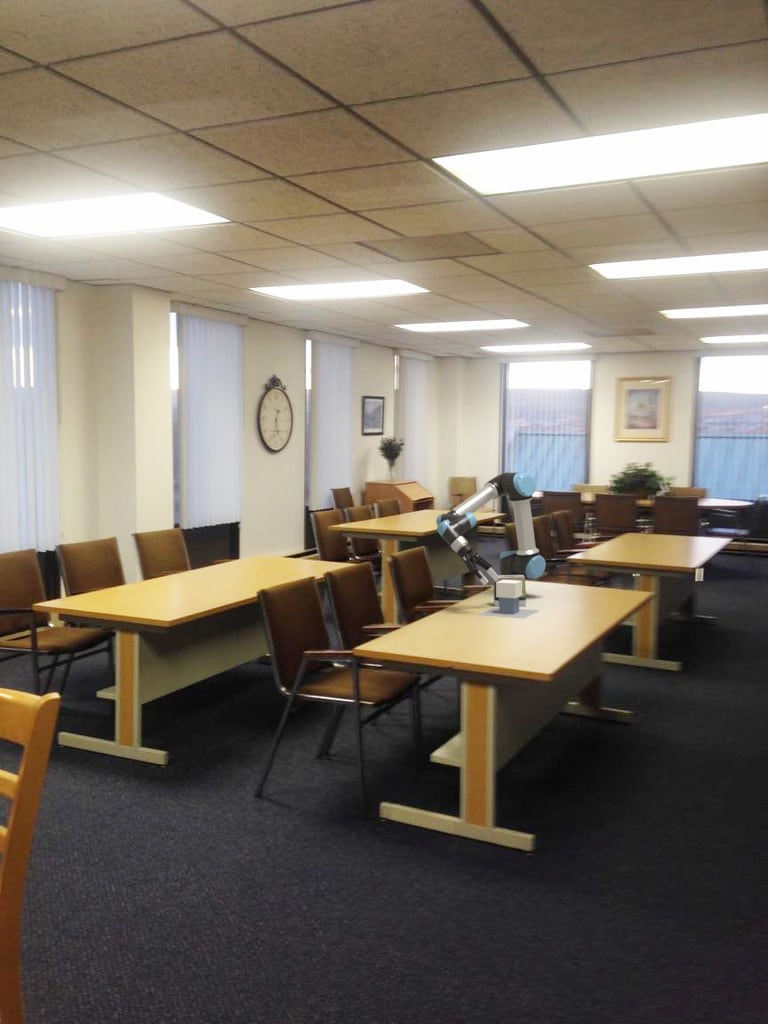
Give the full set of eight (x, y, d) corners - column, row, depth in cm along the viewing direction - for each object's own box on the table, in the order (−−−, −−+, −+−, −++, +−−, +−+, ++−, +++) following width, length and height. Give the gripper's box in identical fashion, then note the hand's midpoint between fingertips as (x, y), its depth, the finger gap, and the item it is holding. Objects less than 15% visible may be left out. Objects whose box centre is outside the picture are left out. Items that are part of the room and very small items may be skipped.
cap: (503, 594, 400) (503, 579, 400) (522, 595, 396) (522, 580, 396) (496, 597, 392) (496, 582, 392) (515, 598, 388) (515, 583, 388)
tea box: (524, 604, 419) (524, 574, 418) (525, 608, 409) (525, 577, 408) (493, 604, 420) (493, 574, 420) (494, 607, 410) (494, 577, 410)
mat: (495, 608, 410) (495, 607, 410) (540, 611, 399) (540, 610, 399) (477, 615, 390) (477, 614, 390) (524, 619, 380) (524, 618, 380)
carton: (504, 610, 399) (504, 583, 399) (519, 611, 396) (519, 584, 395) (499, 613, 393) (499, 585, 392) (513, 614, 390) (513, 586, 389)
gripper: (468, 550, 416) (496, 583, 409) (446, 555, 394) (476, 590, 388) (478, 540, 413) (507, 572, 406) (456, 545, 391) (487, 579, 385)
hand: (492, 581), depth 397 cm, fingers open, 13 cm apart
